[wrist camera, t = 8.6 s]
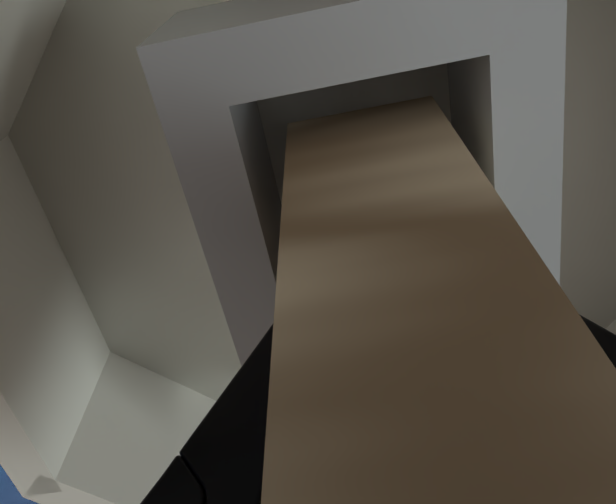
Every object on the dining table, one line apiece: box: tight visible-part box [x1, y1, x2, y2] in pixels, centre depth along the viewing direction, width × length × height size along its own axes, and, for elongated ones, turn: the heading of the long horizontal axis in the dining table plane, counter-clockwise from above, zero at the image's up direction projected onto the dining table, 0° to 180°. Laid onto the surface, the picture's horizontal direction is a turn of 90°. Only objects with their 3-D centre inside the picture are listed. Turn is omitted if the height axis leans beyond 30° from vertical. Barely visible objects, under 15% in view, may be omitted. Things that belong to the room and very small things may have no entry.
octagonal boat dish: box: [0, 0, 616, 504], centre depth 11 cm, size 15×15×4 cm
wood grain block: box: [261, 96, 616, 504], centre depth 7 cm, size 2×5×9 cm, turn 11°
